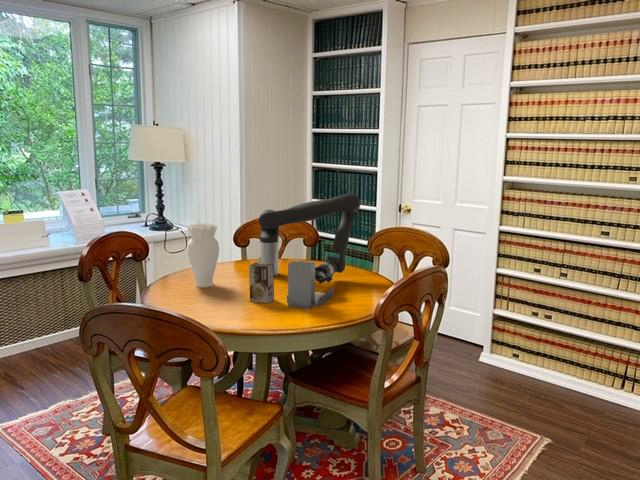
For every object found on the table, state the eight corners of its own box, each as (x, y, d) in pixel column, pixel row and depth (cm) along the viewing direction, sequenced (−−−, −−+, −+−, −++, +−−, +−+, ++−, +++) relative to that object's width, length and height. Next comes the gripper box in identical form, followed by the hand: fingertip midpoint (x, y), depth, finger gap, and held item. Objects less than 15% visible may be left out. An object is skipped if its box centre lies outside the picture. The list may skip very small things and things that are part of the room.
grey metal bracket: (282, 305, 225) (282, 263, 221) (302, 291, 246) (302, 252, 243) (316, 310, 220) (317, 266, 216) (334, 294, 241) (334, 254, 238)
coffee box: (274, 299, 234) (274, 263, 231) (268, 303, 228) (268, 266, 225) (255, 297, 237) (255, 261, 234) (249, 301, 231) (248, 264, 228)
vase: (219, 288, 249) (217, 227, 244) (187, 290, 247) (184, 227, 242) (220, 280, 263) (218, 222, 258) (189, 281, 261) (187, 222, 256)
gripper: (309, 262, 251) (295, 270, 236) (338, 265, 246) (326, 273, 231) (308, 278, 252) (295, 287, 237) (337, 281, 247) (325, 290, 232)
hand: (310, 280), depth 234 cm, fingers open, 8 cm apart
